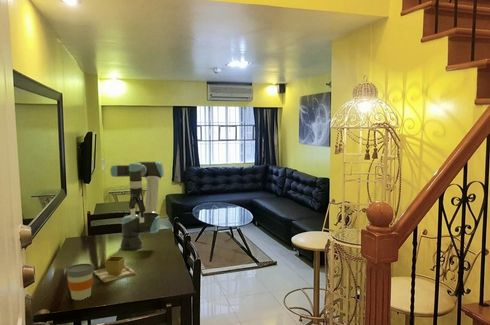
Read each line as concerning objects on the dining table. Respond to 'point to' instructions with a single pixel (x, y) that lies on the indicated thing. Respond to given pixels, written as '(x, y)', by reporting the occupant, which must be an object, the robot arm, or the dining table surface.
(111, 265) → the flower pot
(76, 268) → the reusable coffee cup
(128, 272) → the holder tray
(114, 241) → the dining table surface
